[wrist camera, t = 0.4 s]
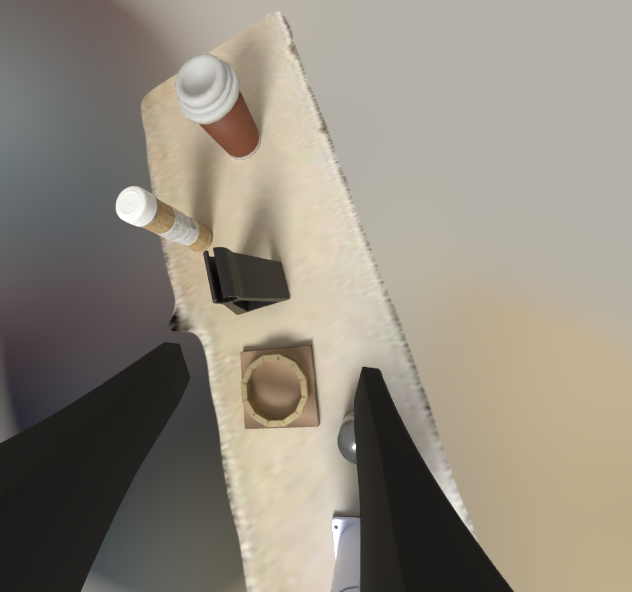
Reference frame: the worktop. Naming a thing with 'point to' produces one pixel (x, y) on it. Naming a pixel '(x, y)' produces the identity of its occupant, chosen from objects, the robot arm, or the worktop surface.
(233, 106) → the coffee cup
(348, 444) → the cylinder
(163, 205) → the sprinkles bottle
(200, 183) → the worktop surface
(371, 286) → the worktop surface
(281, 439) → the worktop surface
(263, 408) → the ring plate
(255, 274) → the phone stand
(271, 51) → the worktop surface
